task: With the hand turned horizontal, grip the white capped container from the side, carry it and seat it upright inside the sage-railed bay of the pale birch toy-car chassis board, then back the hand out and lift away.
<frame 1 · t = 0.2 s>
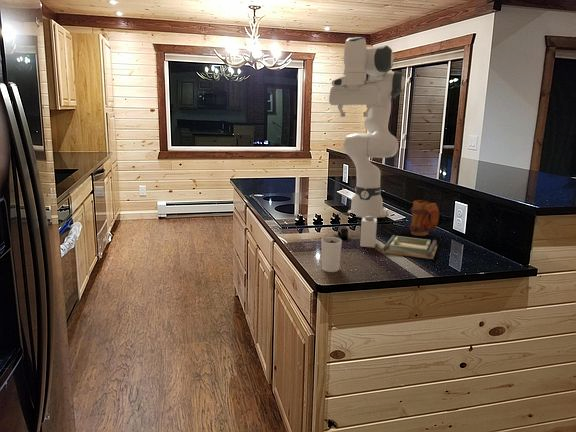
hand: (354, 116, 186), 48 cm above the counter, tool pointing down, fingers open, 8 cm apart
white capped container: (368, 244, 180), on the counter
orange brown rounded block: (422, 237, 191), on the counter
chassis: (410, 250, 174), on the counter
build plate: (342, 238, 190), on the counter
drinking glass: (330, 269, 155), on the counter
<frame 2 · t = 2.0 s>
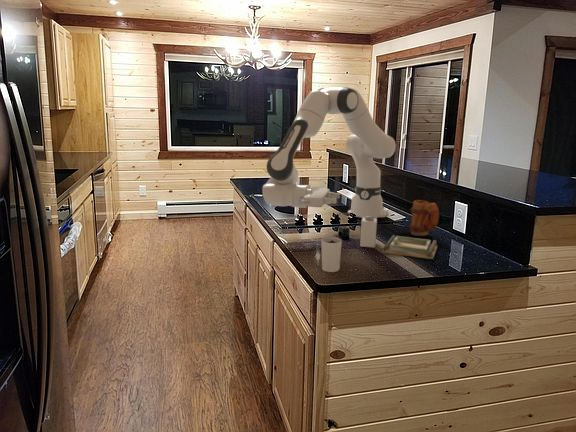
hand: (338, 198, 178), 18 cm above the counter, tool horizontal, fingers open, 8 cm apart
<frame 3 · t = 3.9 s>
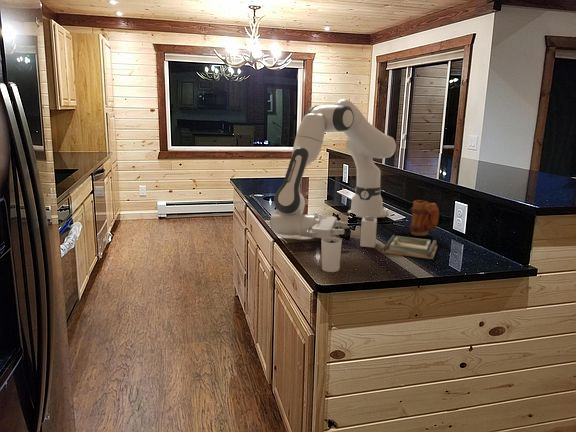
hand: (345, 228, 181), 6 cm above the counter, tool horizontal, fingers open, 8 cm apart
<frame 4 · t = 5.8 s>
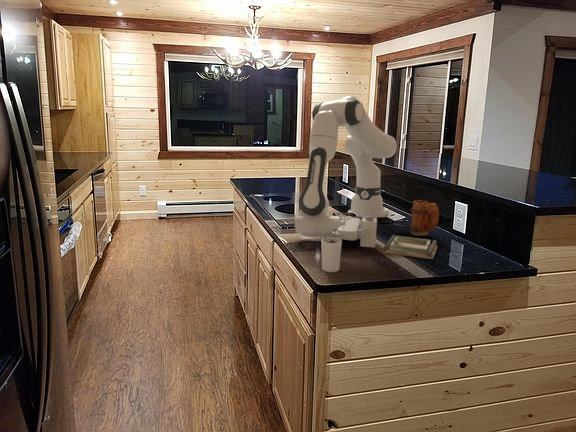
hand: (371, 229, 179), 6 cm above the counter, tool horizontal, fingers closed on white capped container, 6 cm apart
white capped container: (368, 244, 180), on the counter, touching gripper
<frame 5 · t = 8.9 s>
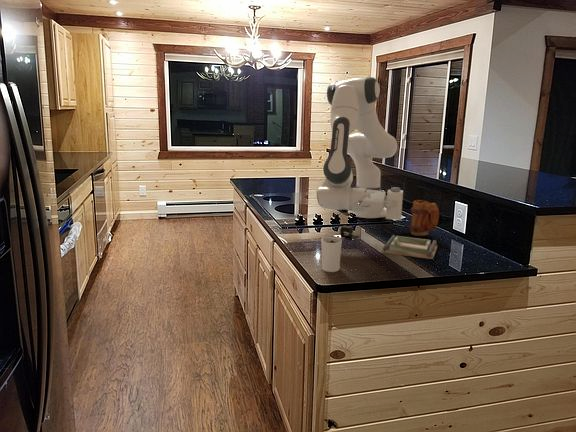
hand: (397, 202, 172), 18 cm above the counter, tool horizontal, fingers closed on white capped container, 5 cm apart
white capped container: (393, 217, 174), point 12 cm above the counter, touching gripper
when the fingers open (9 cm above the counter, at t = 11.7 s): white capped container drops 1 cm, resting on chassis.
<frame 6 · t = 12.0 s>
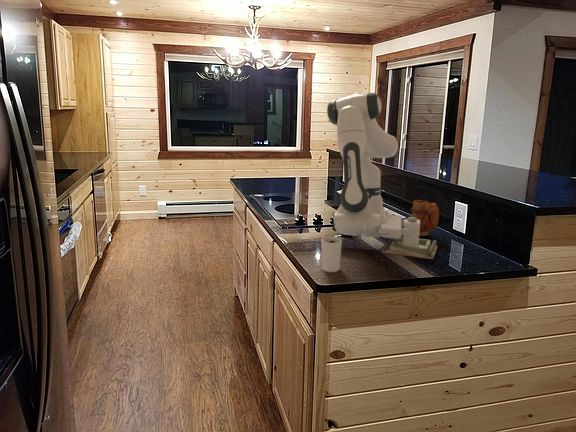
hand: (414, 228, 172), 9 cm above the counter, tool horizontal, fingers open, 8 cm apart
white capped container: (410, 247, 174), point 1 cm above the counter, touching chassis
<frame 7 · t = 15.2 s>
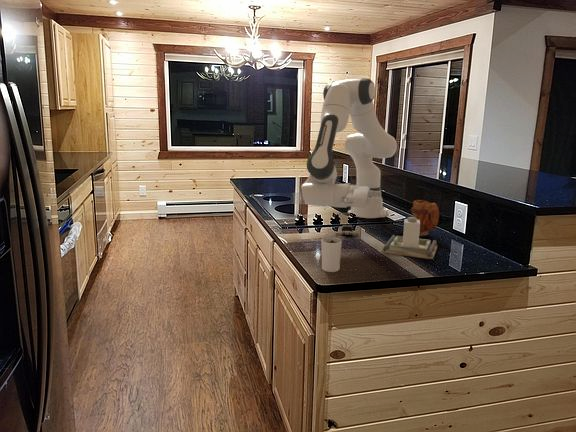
hand: (380, 197, 172), 19 cm above the counter, tool horizontal, fingers open, 8 cm apart
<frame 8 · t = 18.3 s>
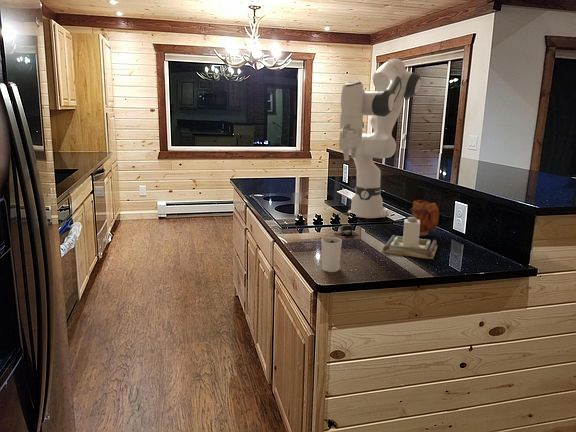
hand: (349, 159, 188), 31 cm above the counter, tool pointing down, fingers open, 8 cm apart
at the end: white capped container 0.1 cm off-centre on the chassis, point 1.2 cm above the chassis's base; white capped container tilted 0°; the gripper is holding nothing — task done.
